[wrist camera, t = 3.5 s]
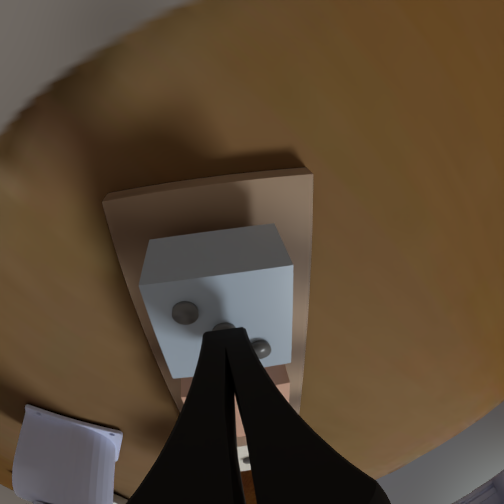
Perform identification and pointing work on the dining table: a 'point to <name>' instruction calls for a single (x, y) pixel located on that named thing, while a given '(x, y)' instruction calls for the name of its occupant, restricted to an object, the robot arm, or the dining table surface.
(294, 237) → the board
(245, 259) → the key three
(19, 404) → the dining table surface
